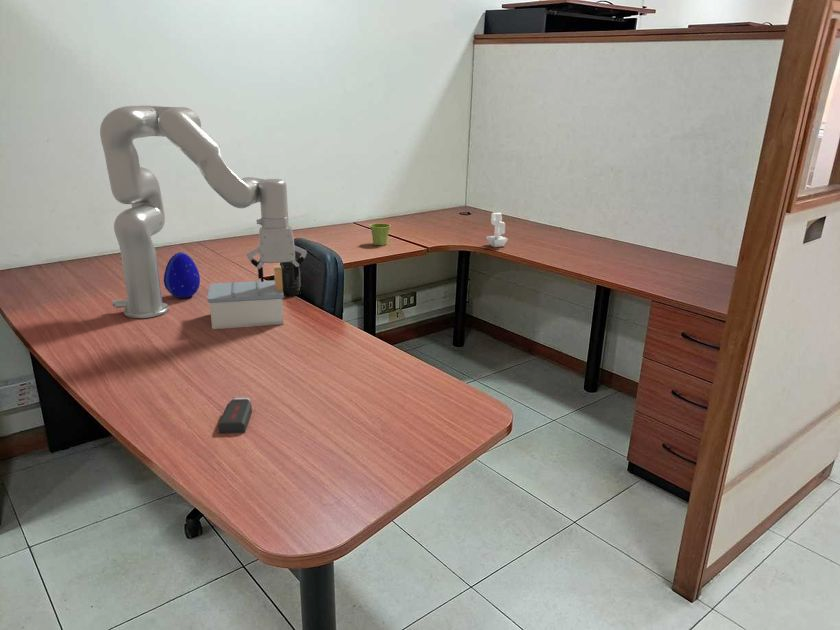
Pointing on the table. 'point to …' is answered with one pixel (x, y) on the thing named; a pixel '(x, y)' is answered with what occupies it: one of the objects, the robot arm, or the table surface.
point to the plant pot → (380, 233)
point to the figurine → (497, 231)
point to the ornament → (181, 276)
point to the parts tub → (246, 313)
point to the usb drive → (236, 416)
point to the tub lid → (247, 289)
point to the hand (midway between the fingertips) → (278, 279)
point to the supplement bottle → (290, 280)
